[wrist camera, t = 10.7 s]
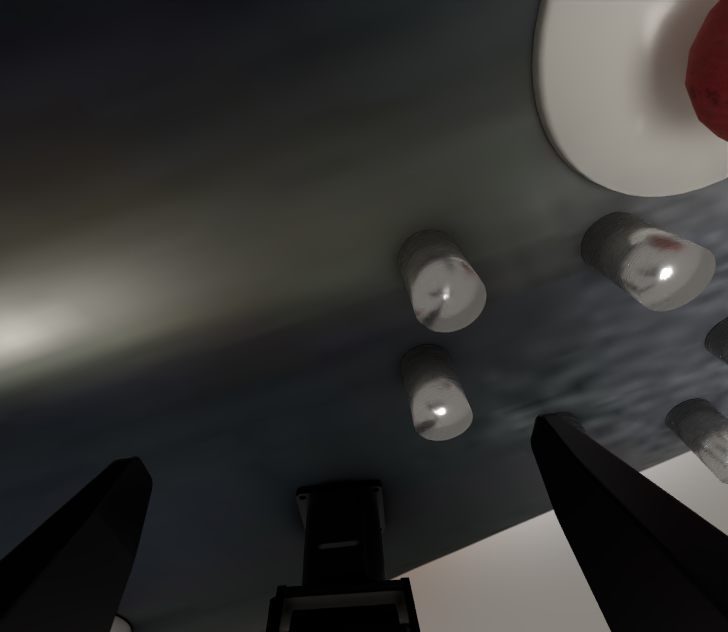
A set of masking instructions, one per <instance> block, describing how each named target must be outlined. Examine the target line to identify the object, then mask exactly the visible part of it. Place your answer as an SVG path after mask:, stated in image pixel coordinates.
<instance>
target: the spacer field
mask: <svg viewBox="0 0 728 632" xmlns="http://www.w3.org/2000/svg"><path fill="white" fill-rule="evenodd" d="M581 254H582V257H583V259H584V261H585V262H586V263H587V264H588V265H590V266H591V267H592V268H594V269H595V270H597V271H598V272H599V273H601V274H602V275H603V276H605V277H606V278H607V279H609V280H610V281H611V282H613V283H614V284H616V285H617V286H618V287H620V288H621V289H622V290H624V291H625V292H626V293H628V294H629V295H630V296H632V297H633V298H635V299H636V300H637V301H639V302H640V303H641V304H643V305H644V306H645V307H647V308H648V309H651V310H654V311H669V310H673V309H676V308H679V307H681V306H683V305H685V304H687V303H689V302H690V301H692V300H693V299H694V298H696V297H697V296H698V295H699V294H700V293H701V292H702V291H703V290H704V289H705V288H706V287H707V286H708V284H709V283H710V281H711V279H712V277H713V275H714V272H715V267H716V261H715V257H714V255H713V254H712V253H711V252H710V251H709V250H708V249H706V248H704V247H701V246H699V245H697V244H695V243H693V242H691V241H688V240H686V239H684V238H682V237H680V236H678V235H675V234H673V233H671V232H669V231H667V230H664V229H662V228H660V227H658V226H656V225H654V224H651V223H649V222H647V221H645V220H643V219H641V218H638V217H636V216H634V215H632V214H630V213H626V212H617V213H613V214H610V215H607V216H605V217H603V218H602V219H600V220H599V221H597V222H596V223H595V224H594V225H593V226H592V227H591V228H590V229H589V230H588V232H587V233H586V235H585V237H584V239H583V242H582V246H581ZM398 263H399V268H400V271H401V274H402V277H403V280H404V283H405V286H406V289H407V291H408V294H409V297H410V300H411V303H412V306H413V309H414V312H415V315H416V317H417V319H418V320H419V322H420V323H421V324H422V325H423V326H425V327H426V328H428V329H430V330H433V331H436V332H453V331H457V330H460V329H462V328H464V327H466V326H468V325H469V324H471V323H472V322H473V321H474V320H475V319H476V318H477V317H478V316H479V315H480V313H481V312H482V310H483V308H484V306H485V303H486V289H485V286H484V284H483V282H482V281H481V279H480V278H479V276H478V275H477V274H476V272H475V271H474V270H473V268H472V267H471V265H470V264H469V263H468V261H467V260H466V259H465V257H464V256H463V254H462V253H461V252H460V250H459V249H458V247H457V246H456V245H455V243H454V242H453V241H452V239H451V238H450V237H449V236H448V235H446V234H445V233H443V232H440V231H437V230H425V231H421V232H418V233H416V234H414V235H413V236H411V237H410V238H409V239H408V240H407V241H406V242H405V243H404V244H403V246H402V248H401V250H400V253H399V257H398ZM705 346H706V349H707V350H708V351H709V352H711V353H712V354H713V355H715V356H716V357H717V358H719V359H720V360H722V361H723V362H724V363H726V364H727V365H728V318H727V319H725V320H723V321H722V322H720V323H719V324H718V325H716V326H715V327H714V328H713V329H712V330H711V332H710V333H709V334H708V336H707V338H706V342H705ZM401 370H402V374H403V379H404V383H405V387H406V392H407V396H408V401H409V405H410V409H411V414H412V418H413V422H414V427H415V430H416V431H417V433H418V434H419V435H420V436H422V437H424V438H426V439H429V440H435V441H441V440H448V439H451V438H454V437H456V436H458V435H460V434H462V433H463V432H464V431H465V430H466V429H467V428H468V427H469V426H470V424H471V422H472V418H473V414H472V411H471V408H470V406H469V403H468V401H467V398H466V396H465V394H464V391H463V389H462V386H461V384H460V381H459V379H458V377H457V374H456V372H455V369H454V367H453V364H452V362H451V360H450V357H449V355H448V353H447V352H446V351H445V350H444V349H443V348H441V347H439V346H436V345H421V346H418V347H415V348H413V349H412V350H410V351H409V352H408V353H407V354H406V355H405V356H404V358H403V360H402V363H401ZM556 414H557V415H559V416H561V417H562V418H563V419H565V420H566V421H568V422H569V423H570V424H572V425H573V426H575V427H576V428H577V429H579V430H580V431H582V432H583V433H584V434H586V435H587V436H589V434H588V433H587V432H586V430H585V429H584V427H583V426H582V424H581V423H580V422H579V420H578V419H577V417H576V416H575V415H573V414H571V413H564V412H563V413H556ZM666 424H667V425H668V427H669V428H670V429H671V430H672V431H673V432H674V433H675V434H676V435H677V436H678V437H679V438H680V439H681V440H682V441H683V442H684V443H685V444H686V445H687V446H688V447H689V448H690V450H691V451H692V452H693V453H694V454H695V455H696V456H697V457H698V458H699V459H700V460H701V461H702V462H703V463H704V464H705V465H706V466H707V467H708V468H709V469H710V470H711V471H712V472H713V473H714V475H715V476H716V477H717V478H718V479H719V480H720V481H722V482H723V483H726V484H728V419H727V418H726V417H725V416H724V415H723V414H722V413H720V412H719V411H718V410H717V409H716V408H715V407H713V406H712V405H711V404H710V403H709V402H708V401H706V400H704V399H693V400H689V401H686V402H683V403H681V404H680V405H678V406H676V407H675V408H674V409H673V410H671V412H670V413H669V414H668V416H667V418H666ZM589 437H590V436H589ZM590 438H591V437H590Z"/></svg>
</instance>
